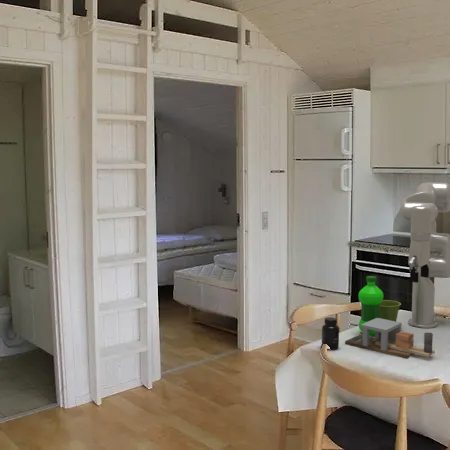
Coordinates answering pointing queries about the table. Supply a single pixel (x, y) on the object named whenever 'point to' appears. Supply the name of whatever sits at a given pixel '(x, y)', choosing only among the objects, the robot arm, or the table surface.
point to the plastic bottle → (370, 302)
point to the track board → (376, 347)
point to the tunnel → (381, 331)
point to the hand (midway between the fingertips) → (419, 279)
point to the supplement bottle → (330, 333)
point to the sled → (410, 343)
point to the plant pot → (389, 310)
